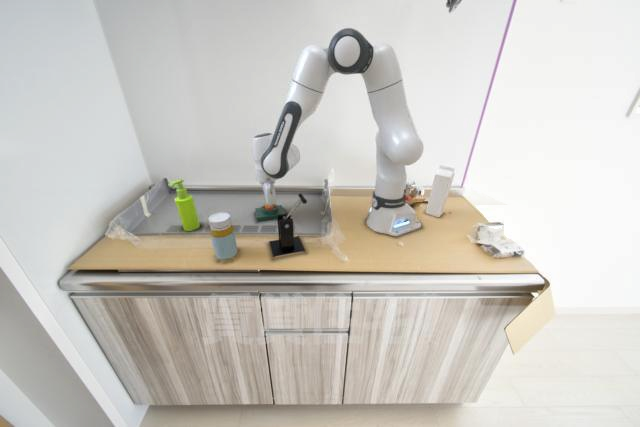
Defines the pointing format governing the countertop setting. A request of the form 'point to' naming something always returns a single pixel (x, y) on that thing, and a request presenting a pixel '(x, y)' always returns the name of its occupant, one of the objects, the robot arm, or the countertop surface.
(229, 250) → the bottle
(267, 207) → the button
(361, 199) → the countertop surface
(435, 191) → the milk
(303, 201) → the lever
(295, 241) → the bracket
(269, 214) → the button block
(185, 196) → the soap dispenser
